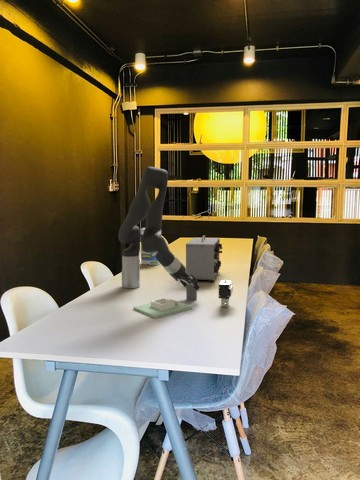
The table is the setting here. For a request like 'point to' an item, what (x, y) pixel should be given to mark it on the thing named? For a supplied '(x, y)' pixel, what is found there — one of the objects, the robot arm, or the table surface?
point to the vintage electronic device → (203, 258)
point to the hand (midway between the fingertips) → (192, 287)
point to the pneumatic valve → (225, 292)
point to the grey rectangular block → (191, 292)
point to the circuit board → (162, 307)
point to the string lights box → (149, 257)
